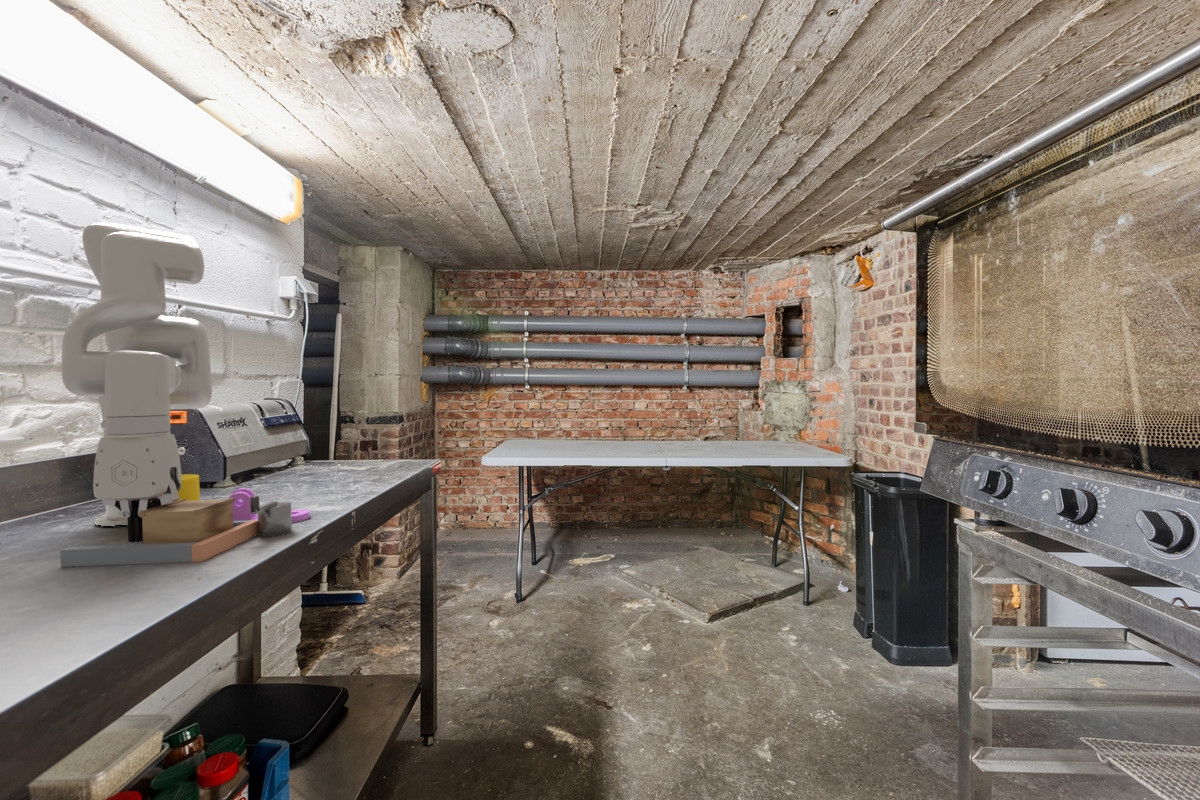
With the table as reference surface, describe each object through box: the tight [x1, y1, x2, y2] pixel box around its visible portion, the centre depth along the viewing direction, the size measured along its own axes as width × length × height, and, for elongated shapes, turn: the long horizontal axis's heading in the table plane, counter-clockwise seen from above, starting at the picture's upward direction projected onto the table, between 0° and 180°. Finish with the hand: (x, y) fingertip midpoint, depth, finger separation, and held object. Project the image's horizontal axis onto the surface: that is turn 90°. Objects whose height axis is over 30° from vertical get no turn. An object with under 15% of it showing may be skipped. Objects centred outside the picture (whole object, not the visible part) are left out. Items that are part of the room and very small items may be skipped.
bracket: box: [227, 487, 310, 523], centre depth 93 cm, size 13×6×7 cm, turn 121°
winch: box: [250, 495, 293, 538], centre depth 83 cm, size 9×5×8 cm, turn 5°
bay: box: [59, 520, 258, 568], centre depth 77 cm, size 14×20×2 cm
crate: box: [140, 497, 235, 544], centre depth 77 cm, size 8×8×7 cm
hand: (142, 539), depth 77 cm, fingers closed
